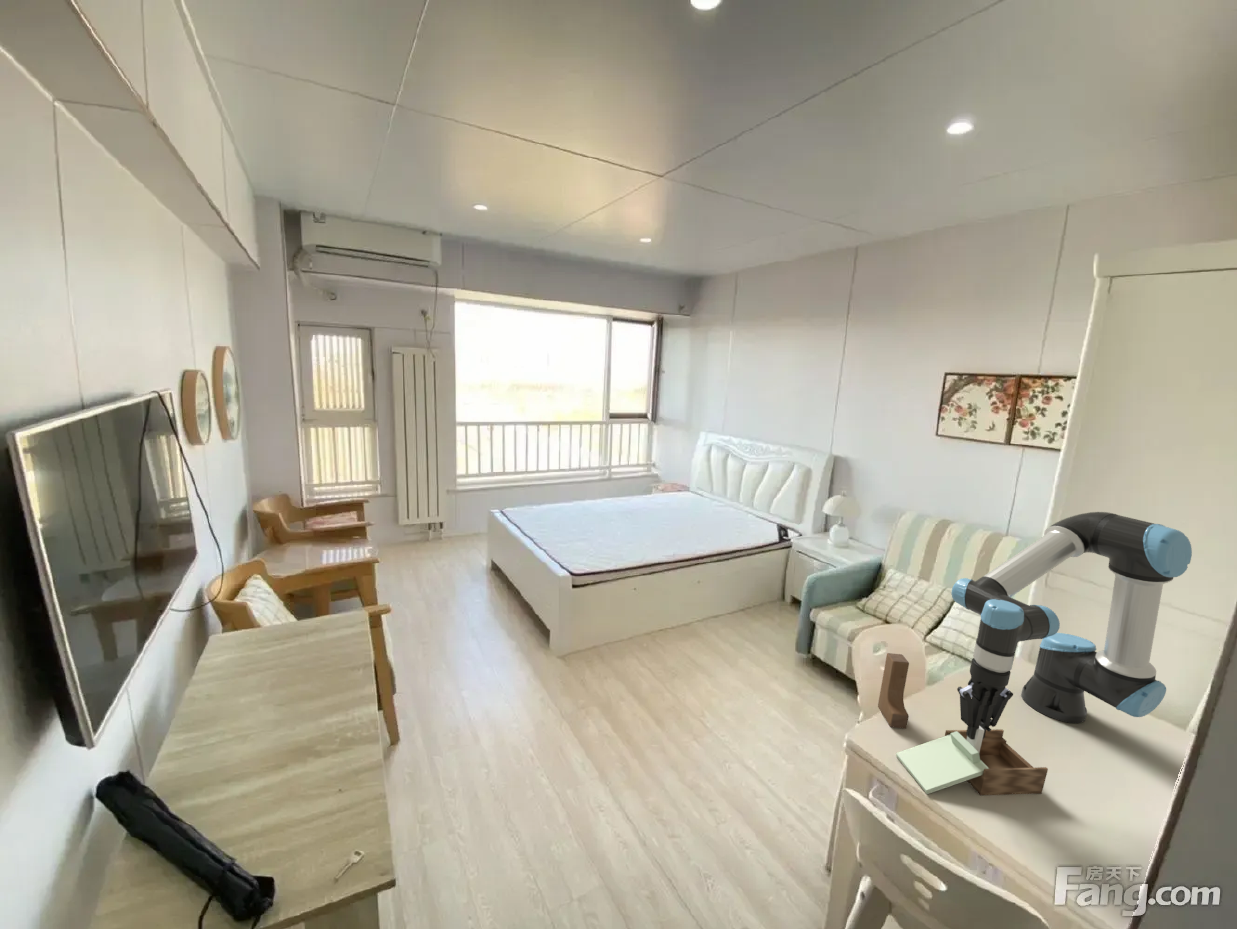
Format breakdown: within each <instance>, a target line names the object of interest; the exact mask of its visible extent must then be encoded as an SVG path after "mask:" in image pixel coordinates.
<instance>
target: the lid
mask: <svg viewBox="0 0 1237 929" xmlns="http://www.w3.org/2000/svg"><path fill="white" fill-rule="evenodd" d="M895 756H896V758H897V759H898V761H899V762H900V763H901V764H902V766H904V768H905V769H906V771H908V773H909V774H910V775H911V777H912V778H913V779H914V780H915V781H916V783H917V784H918V785H919V787H920V788H921V789H922V790H923V792H924V793H925V794H926V795H928V794H931V793H935V792H937V791H940V790H943V789H946V788H949V787H952V786H955V785H958V784H961V783H963V782H967V781H966V780H969V779H972V778H975V777H978V776H981V775H983V772H984V769H989V768H988V767H987V766H986V765H985V764H984V763H983V762H982V761H981V760H980V756H979V752H978V751H977V750H976V749H975V748H974V747H973V746H972V745H971V744H970V743H969V742H968V741H967V740H966V739H965V738H964V737H963V736H962V735H961V734H959V733H958V732H957V731H956V732H953V733H950V735H947V736H945V735H944V736H941V737H939V738H936V739H932V740H930V741H927V742H924V743H921V744H919V745H916V746H912V747H910V748H907V749H904V750H901V751H898V752H896V753H895Z"/></svg>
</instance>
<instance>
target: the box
mask: <svg viewBox="0 0 1237 929" xmlns="http://www.w3.org/2000/svg"><path fill="white" fill-rule="evenodd" d="M956 731H957V732H958V733H959V734H961V735H962V736H963V737H964V738H965V739H966V740H967V735H966V732H967V729H953V730H952V729H949V730H948V729H946V730H945V732H944V736H947V735H950V733H953V732H956ZM1004 732H1005V730H1003V729H1001V728H1000V729H996V728H995V729H991V731H989V732H988V731H987V730H986V733H985V737H984V739H982V743H981V748H980V752H979V756H980V760H981V761H982V762H983V763H984V764H985V765H986V766H987V767H988V768H989V769H984V772H983V775H981V776H978V777H975V778H972V779H969V780H966V781H965V782H967V783H968V784H969V785H970V787H972V789H973V790H974V791H975V792H976V793H977V794H978V795H979V796H1006V795H1007V796H1009V795H1011V796H1012V795H1041V794H1042V793H1043V791H1044V786H1045V783H1046V778H1047V775H1048V771H1049V768H1048V767H1046V766H1045V767H1044V766H1043V767H1042V766H1040V767H1039V766H1038V767H1034V766H1033V765H1032V764H1030V763H1029V762H1028V761H1027V760H1026V759H1025V758H1024V757H1022V755H1020V754H1019V753H1018V752H1017V751H1016V750H1015V749H1013V747H1012V746H1010V745H1009V744H1008V743H1007V740H1006V739H1005V738H1004Z"/></svg>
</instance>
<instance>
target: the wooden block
mask: <svg viewBox="0 0 1237 929" xmlns="http://www.w3.org/2000/svg"><path fill="white" fill-rule="evenodd" d="M909 666H910V662H909V661H908V660H907V659H906V657H905V656H904V655H903V654H900V653H891V652H887V653H886V658H885V663H884V668H883V675H882V678H881V679H882V680H881V686H880V691H879V697H878V703H877V708H878V709H879V711H880V712H881V714H882V716H883V718H884V719H885V720H886V722H887V723H888V724H887V725H888V726H889V727H890V728H894V729H904V730H905V729H907V728H908V723H909V717H910V716H909V713H908V711H907V709H906V706H905V703H904V692H905V689H906V688H905V687H906V682H907V677H908V672H909Z"/></svg>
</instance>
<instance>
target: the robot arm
mask: <svg viewBox="0 0 1237 929" xmlns="http://www.w3.org/2000/svg"><path fill="white" fill-rule="evenodd" d="M1192 548H1193V547H1192V544H1191V541H1190V539H1189V537H1187V536H1186V534H1185V533H1184V532H1182V531H1180V530H1178V529H1175V528H1171V527H1169V526H1166V525H1164V524H1160V523H1153V522H1149V521H1146V520H1140V519H1137V518H1132V517H1128V516H1124V515H1120V514H1116V513H1112V512H1107V511H1092V512H1085V513H1080V514H1075V515H1071V516H1069V517H1066V518H1063V519H1061V520H1059V521H1057V522H1054V523H1053V524H1051V525H1050V526H1049V527H1047V528H1045V530H1044V535H1042V536H1041V537H1039V538H1038V539H1037V540H1035V541H1034V542H1032V543H1031V544H1029V545H1028V546H1026V547H1025V548H1023V549H1022V550H1020V551H1019V552H1018V553H1016V554H1014V555H1013V556H1011V557H1010V558H1008V559H1007V560H1006V561H1004V562H1002V563H1001V564H999V565H998V566H996V567H995V568H993V569H992V570H991V571H989V572H987V573H986V574H984V575H983V576H981V577H979V578H978V579H976V580H973V579H970V578H968V577H964V578H960V579H958V580H956V581H955V583H954V584H953V586H952V588H951V592H950V593H951V594H950V595H951V599H953V601H954V602H955V603H956V604H958V605H959V606H961V607H963V608H965V609H966V610H968V611H971V612H973V613H975V614H978V615H979V616H980V621H979V627H978V631H977V637H976V640H975V646H974V648H973V649H974V650H973V652H972V653H973V654H972V657H973V658H972V659H971V662H970V663H971V664H970V668H969V673H970V679H969V681H968V682H967V686H965V687H962V686H958V687H957V688H956V689H957V692H958V695H959V707H960V709H959V710H960V720H961V721H962V722H963V723H964V724H965V725H966V726H967V727H966V730H967V732H966V735H967V741H968V742H969V743H970V744H971V745H972V746H973V747H974V748H975V749H976V750H977V751H978V752H980V748H981V743H982V739H984V737H985V733H986V730H987V731H988V732H989V731H991V730H992V728H994V727H996V726H997V724H998V722H999V720H1000V718H1001V716H1002V714H1003V712H1004V709H1005V708H1006V706H1007V703H1008V702H1009V701H1010V699H1011V698H1012V697H1014V693H1013V692H1012V691H1011V690H1009V688H1007V687H1006V686H1008V685H1009V682H1010V676H1011V673H1012V672H1011V671H1012V670H1013V665H1014V660H1015V655H1016V650H1017V647H1018V643H1019V642H1025V641H1032V640H1041V642H1040V644H1039V650H1038V653H1037V654H1038V655H1037V658H1036V662H1035V669H1034V671H1033V675H1032V676H1031V677H1030V678H1029V679H1028V680H1027V682H1026V683H1025V685H1023V687H1022V689H1021V693H1020V696H1021V698H1022V700H1023V701H1024V702H1025V703H1026V704H1027V705H1028V706H1029V707H1031V708H1032V709H1034V710H1036V711H1037V712H1039V713H1040V714H1043V715H1044V716H1047V717H1049V718H1052V719H1055V720H1057V721H1060V722H1065V723H1069V724H1070V723H1071V724H1081V723H1084V722H1085V721H1086V719H1087V715H1088V710H1087V707H1086V700H1085V692H1086V693H1088V694H1089V695H1091V696H1093V697H1095V698H1097V699H1098V700H1101V701H1102V702H1104V703H1106V704H1108V705H1109V706H1111V707H1113V708H1115V709H1116V710H1117V711H1121V712H1123V713H1125V714H1127V715H1128V716H1130V717H1133V718H1142V717H1145V716H1147V715H1149V714H1151V713H1152V712H1153V711H1154V710H1155V709H1156V708H1158V706H1159V705H1160V704H1161V703H1162V701H1163V699H1164V698H1165V696H1166V694H1167V687H1166V685H1165V684H1164V683H1162V681H1161V680H1157V679H1156V675H1157V669H1156V667H1155V666H1154V665H1153V664H1152V663H1151V662H1150V660H1151V655H1152V649H1153V644H1154V638H1155V631H1156V627H1157V620H1158V614H1159V609H1160V603H1161V600H1162V599H1161V598H1162V592H1163V586H1164V584H1168V583H1171V582H1172V581H1174V578H1177V577H1180V576H1182V575H1183V574H1184V573H1186V571H1187V570H1188V565H1190V564H1191V561H1192V554H1193V549H1192ZM1084 553H1085V554H1086V553H1092V554H1096V555H1099V556H1102V557H1105V558H1108V566H1107V567H1108V570H1109V571H1110V572H1111V573H1113V574H1114V581H1113V588H1112V595H1111V601H1110V602H1111V603H1110V607H1109V617H1108V623H1107V628H1106V636H1105V642H1104V643H1105V644H1104V648H1103V649H1102V650H1099V651H1098V652H1097V646H1096V644H1095V643H1094V642H1092V641H1091V640H1088V639H1087V638H1084V637H1081V636H1077V635H1073V634H1069V633H1063V632H1059V630H1060V628H1061V627H1060V620H1059V618H1058V616H1057V614H1056V612H1054V611H1053V610H1052V609H1050V608H1049V607H1047V606H1045V605H1041V604H1040V605H1038V604H1030V605H1029V604H1027V603H1024V602H1022V601H1019V600H1017V599H1015V598H1013V597H1014V596H1015V595H1016V594H1019V592H1021V591H1022V590H1023V589H1025V588H1026V587H1028V586H1029V585H1031V584H1033V583H1034V582H1035V581H1037V580H1039V579H1040V578H1041V577H1043V576H1044V575H1045V574H1047V573H1049V572H1050V571H1052V570H1054V568H1056V567H1057V566H1059V565H1060V564H1062V563H1064V562H1065V561H1066V560H1068V559H1069V558H1078V557H1079V556H1081V555H1083V554H1084ZM990 727H992V728H990Z"/></svg>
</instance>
